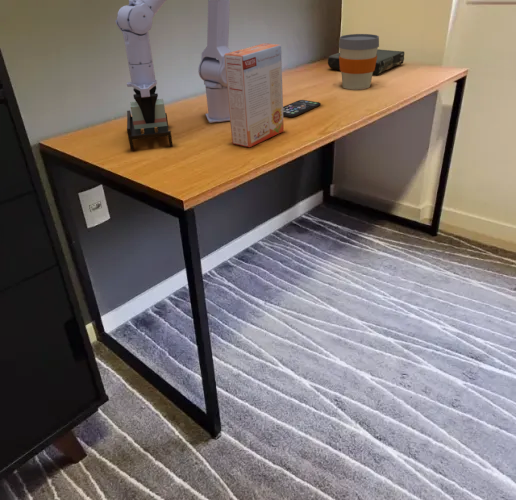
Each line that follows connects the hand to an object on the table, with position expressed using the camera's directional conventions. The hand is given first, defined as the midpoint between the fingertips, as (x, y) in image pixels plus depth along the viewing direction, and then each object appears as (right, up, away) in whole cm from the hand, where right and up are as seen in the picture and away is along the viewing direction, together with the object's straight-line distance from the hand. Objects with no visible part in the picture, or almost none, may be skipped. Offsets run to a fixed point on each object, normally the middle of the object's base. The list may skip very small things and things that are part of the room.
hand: (149, 119), depth 122 cm
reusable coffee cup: (+59, +21, +39) cm, 74 cm away
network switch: (+68, +36, +62) cm, 98 cm away
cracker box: (+27, -5, -1) cm, 28 cm away
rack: (0, -4, +2) cm, 5 cm away
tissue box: (0, -1, +1) cm, 1 cm away
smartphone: (+38, +8, +19) cm, 43 cm away
